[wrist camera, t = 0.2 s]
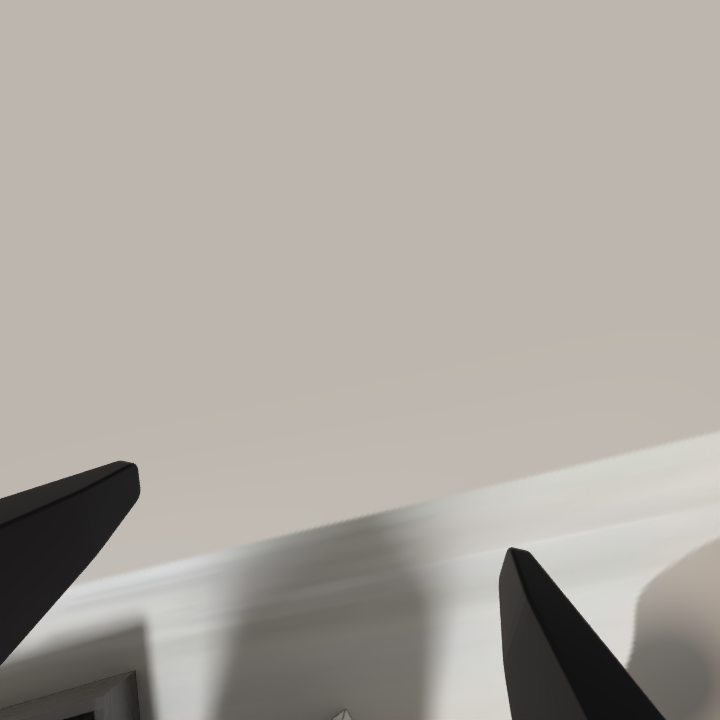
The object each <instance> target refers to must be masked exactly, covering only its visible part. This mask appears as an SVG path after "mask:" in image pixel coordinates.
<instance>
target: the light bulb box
mask: <svg viewBox="0 0 720 720" xmlns="http://www.w3.org/2000/svg"><path fill="white" fill-rule="evenodd" d="M333 720H352V719H351V718H350V716H349V714H348V712H347V711H346V710H344V711H343V712H342V713H340V714H339V715H338V716H337V717H335V718H334V719H333Z"/></svg>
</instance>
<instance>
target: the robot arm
mask: <svg viewBox="0 0 720 720" xmlns="http://www.w3.org/2000/svg"><path fill="white" fill-rule="evenodd" d="M139 495H140V482H139V473H138V467H137V466H136V464H134V463H130V462H126V461H116V462H113V463H110V464H107V465H104V466H101V467H98V468H95V469H92V470H88V471H85V472H83V473H79V474H76V475H73V476H70V477H67V478H63V479H60V480H57V481H54V482H51V483H48V484H45V485H42V486H39V487H35V488H32V489H29V490H26V491H23V492H20V493H17V494H14V495H11V496H7V497H4V498H1V499H0V665H1V664H2V663H3V662H4V661H5V660H6V659H7V657H8V656H9V655H10V654H11V653H12V652H13V651H14V649H15V648H16V647H17V646H18V645H19V644H20V643H21V641H22V640H23V639H24V638H25V637H26V636H27V635H28V633H29V632H30V631H31V630H32V629H33V628H34V627H35V625H36V624H37V623H38V622H39V621H40V620H41V619H42V617H43V616H44V615H45V614H46V613H47V612H48V611H49V609H50V608H51V607H52V606H53V605H54V604H55V603H56V601H57V600H58V599H59V598H60V597H61V596H62V595H63V593H64V592H65V591H66V590H67V589H68V588H69V587H70V585H71V584H72V583H73V582H74V581H75V580H76V578H77V577H78V576H79V575H80V574H81V573H82V572H83V571H84V570H85V568H86V567H87V566H88V565H89V564H90V562H91V561H92V560H93V559H94V558H95V557H96V555H97V554H98V553H99V551H100V550H101V549H102V548H103V546H104V545H105V543H106V542H107V541H108V540H109V538H110V537H111V535H112V534H113V533H114V531H115V530H116V528H117V527H118V526H119V525H120V523H121V522H122V520H123V519H124V518H125V516H126V515H127V514H128V512H129V511H130V510H131V508H132V507H133V506H134V504H135V503H136V501H137V500H138V498H139ZM499 600H500V617H501V634H502V651H503V664H504V672H505V679H506V685H507V692H508V698H509V704H510V710H511V716H512V720H666V718H665V717H664V716H663V715H662V713H661V712H660V711H659V710H658V709H657V707H656V706H655V705H654V704H653V702H652V701H651V700H650V699H649V697H648V696H647V695H646V694H645V693H644V692H643V690H642V689H641V688H640V686H639V685H638V684H637V683H636V682H635V680H634V679H633V678H632V677H631V675H630V674H629V673H628V672H627V671H626V669H625V668H624V667H623V666H622V664H621V663H620V662H619V661H618V659H617V658H616V657H615V656H614V655H613V653H612V652H611V651H610V650H609V648H608V647H607V646H606V645H605V644H604V642H603V641H602V640H601V639H600V637H599V636H598V635H597V634H596V633H595V631H594V630H593V629H592V628H591V626H590V625H589V624H588V623H587V621H586V620H585V619H584V618H583V617H582V615H581V614H580V613H579V612H578V610H577V609H576V608H575V607H574V606H573V604H572V603H571V602H570V601H569V599H568V598H567V597H566V596H565V595H564V593H563V592H562V591H561V590H560V588H559V587H558V586H557V585H556V583H555V582H554V581H553V580H552V579H551V577H550V576H549V575H548V574H547V572H546V571H545V570H544V569H543V568H542V566H541V565H540V564H539V563H538V561H537V560H536V559H535V558H534V557H533V555H532V554H531V553H530V552H528V551H526V550H522V549H517V548H513V547H511V548H509V549H508V550H507V552H506V556H505V559H504V562H503V566H502V569H501V572H500V577H499Z"/></svg>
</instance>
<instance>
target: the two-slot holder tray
mask: <svg viewBox="0 0 720 720" xmlns="http://www.w3.org/2000/svg"><path fill="white" fill-rule="evenodd" d="M0 720H140V714H139V704H138V695H137V685H136V676H135V671H132V672H128V673H125V674H122V675H118V676H115V677H111V678H108V679H104V680H101V681H97V682H94V683H90V684H87V685H84V686H80V687H77V688H73V689H70V690H66V691H63V692H59V693H56V694H52V695H49V696H46V697H42V698H39V699H35V700H32V701H28V702H25V703H21V704H18V705H14V706H11V707H8V708H4V709H1V710H0Z"/></svg>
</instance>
